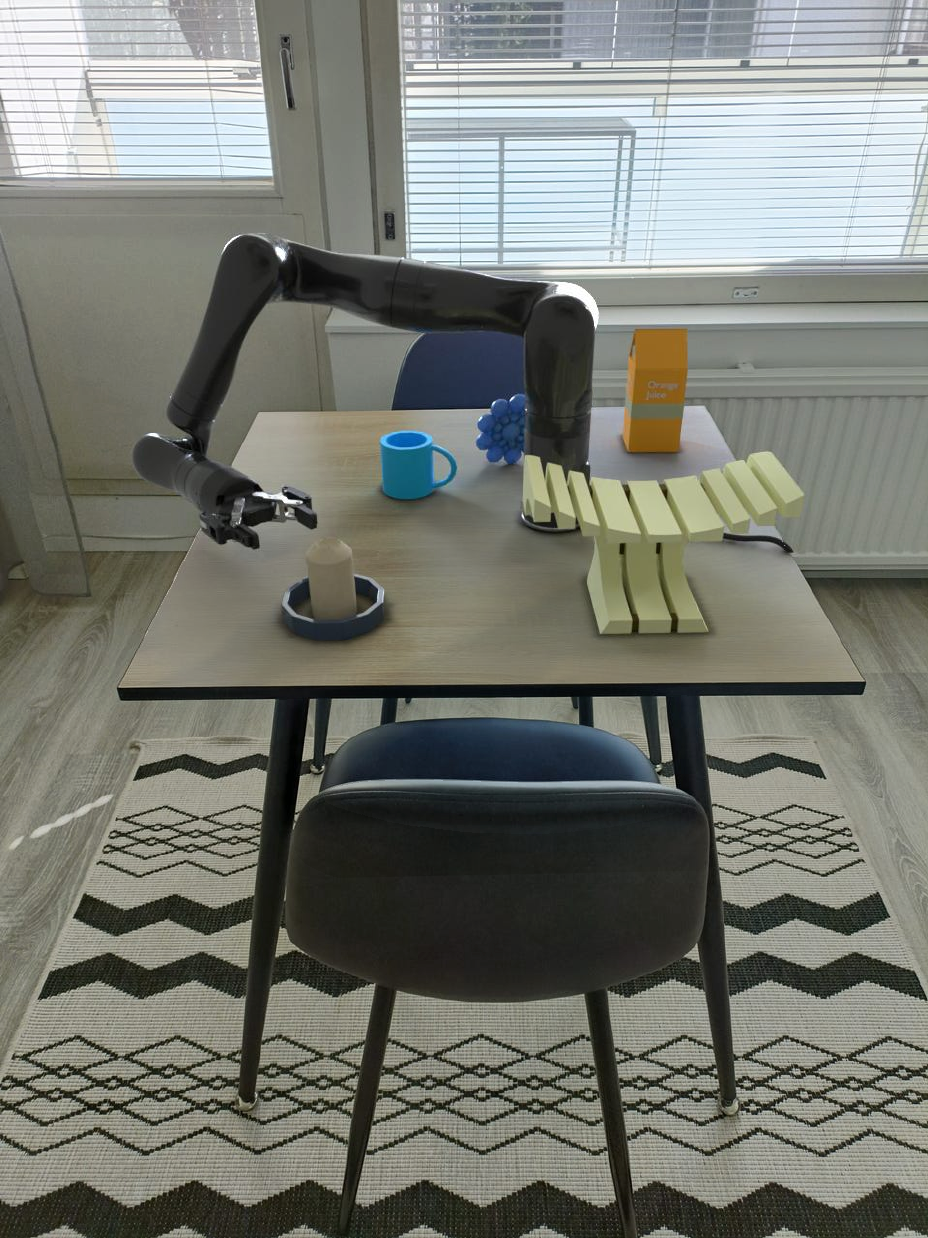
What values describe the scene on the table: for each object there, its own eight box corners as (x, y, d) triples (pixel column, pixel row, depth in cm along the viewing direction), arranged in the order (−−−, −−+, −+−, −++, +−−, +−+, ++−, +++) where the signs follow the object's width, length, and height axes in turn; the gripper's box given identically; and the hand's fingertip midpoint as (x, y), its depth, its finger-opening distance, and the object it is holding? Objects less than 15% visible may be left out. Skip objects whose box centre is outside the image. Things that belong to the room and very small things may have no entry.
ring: (386, 588, 125) (385, 571, 124) (381, 639, 115) (380, 621, 114) (291, 590, 125) (289, 573, 124) (278, 641, 115) (275, 623, 113)
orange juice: (679, 452, 165) (692, 334, 155) (627, 452, 165) (637, 335, 155) (671, 435, 172) (683, 322, 161) (621, 435, 172) (630, 322, 161)
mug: (377, 497, 150) (374, 447, 146) (389, 477, 157) (387, 429, 153) (452, 502, 148) (451, 452, 144) (461, 481, 155) (461, 433, 151)
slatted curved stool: (743, 568, 129) (763, 442, 120) (778, 630, 116) (804, 494, 106) (521, 571, 129) (524, 446, 120) (530, 635, 115) (534, 498, 106)
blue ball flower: (543, 453, 165) (545, 385, 159) (546, 468, 159) (548, 398, 153) (475, 454, 165) (475, 385, 159) (476, 469, 159) (475, 399, 153)
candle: (349, 627, 117) (343, 554, 112) (306, 622, 118) (298, 550, 113) (362, 604, 122) (357, 533, 117) (321, 600, 123) (313, 530, 118)
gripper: (171, 482, 127) (232, 521, 116) (264, 454, 135) (330, 489, 124) (180, 533, 131) (240, 575, 120) (271, 503, 139) (335, 541, 128)
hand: (286, 532), depth 122 cm, fingers open, 8 cm apart
